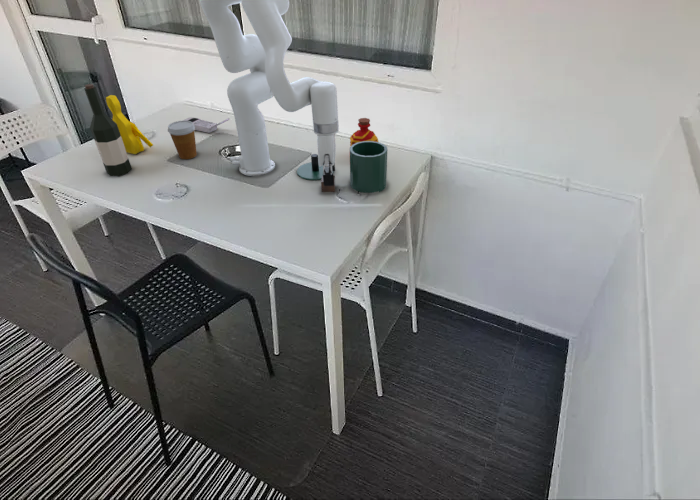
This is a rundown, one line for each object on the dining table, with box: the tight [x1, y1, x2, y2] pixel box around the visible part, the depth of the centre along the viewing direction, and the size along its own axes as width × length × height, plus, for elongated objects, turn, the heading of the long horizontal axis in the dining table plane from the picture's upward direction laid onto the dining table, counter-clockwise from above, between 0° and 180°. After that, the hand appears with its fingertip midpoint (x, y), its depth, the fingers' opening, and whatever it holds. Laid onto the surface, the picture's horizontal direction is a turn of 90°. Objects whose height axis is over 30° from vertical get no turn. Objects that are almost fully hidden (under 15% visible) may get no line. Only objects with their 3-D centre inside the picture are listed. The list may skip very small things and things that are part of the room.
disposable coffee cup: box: [167, 120, 198, 160], centre depth 166 cm, size 10×10×12 cm
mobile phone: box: [182, 117, 230, 134], centre depth 188 cm, size 6×6×25 cm
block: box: [320, 175, 336, 193], centre depth 146 cm, size 4×4×4 cm
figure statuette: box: [105, 94, 154, 155], centre depth 167 cm, size 18×8×22 cm, turn 66°
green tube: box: [349, 141, 388, 194], centre depth 146 cm, size 12×12×13 cm
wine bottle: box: [83, 83, 133, 177], centre depth 152 cm, size 8×8×30 cm
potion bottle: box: [349, 117, 379, 147], centre depth 160 cm, size 10×10×15 cm
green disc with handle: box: [296, 153, 335, 181], centre depth 155 cm, size 13×13×7 cm
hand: (329, 178), depth 145 cm, fingers open, 9 cm apart
